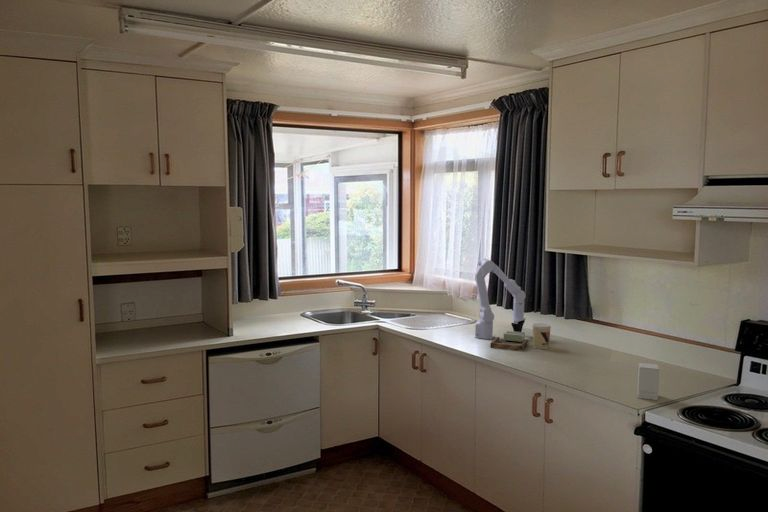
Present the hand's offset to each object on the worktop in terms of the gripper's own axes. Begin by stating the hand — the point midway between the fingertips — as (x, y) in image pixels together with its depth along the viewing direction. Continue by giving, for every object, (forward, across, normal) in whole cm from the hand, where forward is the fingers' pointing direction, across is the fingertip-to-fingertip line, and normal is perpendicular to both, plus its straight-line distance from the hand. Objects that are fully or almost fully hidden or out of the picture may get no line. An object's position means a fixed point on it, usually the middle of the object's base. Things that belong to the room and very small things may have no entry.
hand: (517, 334), depth 344 cm
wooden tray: (+2, -23, 0) cm, 23 cm away
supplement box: (+2, -82, -68) cm, 107 cm away
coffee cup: (+2, -19, -16) cm, 25 cm away
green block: (+2, -10, 0) cm, 10 cm away
